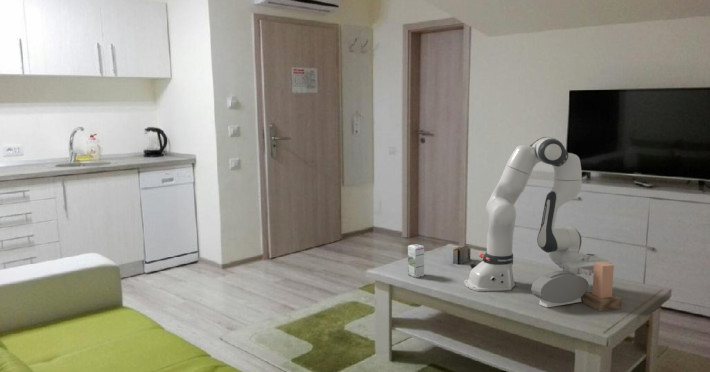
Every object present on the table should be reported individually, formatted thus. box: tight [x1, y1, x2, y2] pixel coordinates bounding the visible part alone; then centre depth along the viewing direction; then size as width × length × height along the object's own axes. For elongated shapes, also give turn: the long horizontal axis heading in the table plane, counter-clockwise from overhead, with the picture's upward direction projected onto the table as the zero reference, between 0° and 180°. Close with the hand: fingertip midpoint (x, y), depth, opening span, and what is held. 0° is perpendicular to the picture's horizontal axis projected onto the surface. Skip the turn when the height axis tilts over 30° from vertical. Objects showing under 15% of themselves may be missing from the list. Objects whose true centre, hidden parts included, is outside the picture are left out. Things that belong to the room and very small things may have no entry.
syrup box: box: [407, 243, 425, 279], centre depth 255 cm, size 6×6×14 cm
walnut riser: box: [582, 291, 623, 312], centre depth 216 cm, size 10×10×4 cm
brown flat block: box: [452, 245, 472, 265], centre depth 277 cm, size 11×3×10 cm, turn 133°
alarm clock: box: [530, 270, 589, 308], centre depth 218 cm, size 23×6×13 cm, turn 109°
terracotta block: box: [592, 262, 615, 298], centre depth 214 cm, size 5×5×13 cm
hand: (600, 272), depth 216 cm, fingers open, 8 cm apart
